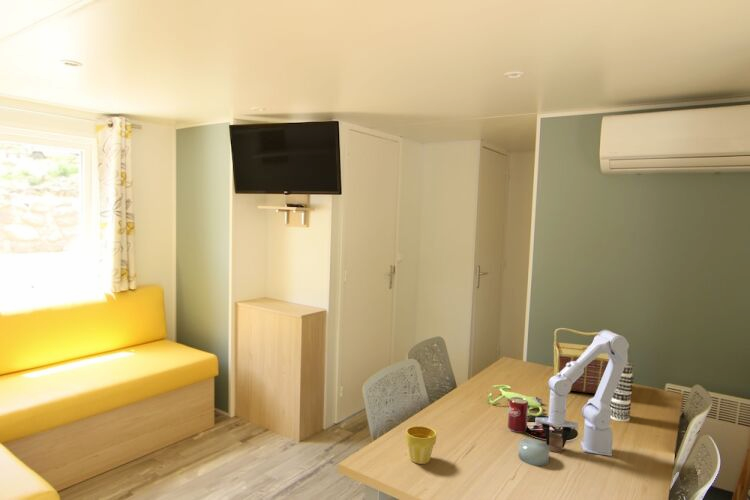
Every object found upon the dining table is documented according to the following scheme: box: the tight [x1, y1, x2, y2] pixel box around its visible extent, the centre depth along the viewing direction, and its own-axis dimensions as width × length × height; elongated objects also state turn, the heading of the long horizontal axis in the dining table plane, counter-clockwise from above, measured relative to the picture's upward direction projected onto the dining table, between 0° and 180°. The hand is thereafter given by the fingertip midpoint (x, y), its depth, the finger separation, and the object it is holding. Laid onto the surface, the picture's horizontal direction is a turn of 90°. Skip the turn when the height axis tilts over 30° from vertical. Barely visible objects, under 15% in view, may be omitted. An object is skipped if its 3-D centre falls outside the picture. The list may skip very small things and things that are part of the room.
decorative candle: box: [610, 360, 634, 422], centre depth 206 cm, size 9×9×25 cm
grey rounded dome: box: [518, 438, 550, 467], centre depth 168 cm, size 10×10×5 cm
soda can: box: [507, 397, 529, 434], centre depth 191 cm, size 7×7×12 cm
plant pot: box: [405, 425, 437, 465], centre depth 164 cm, size 10×10×10 cm
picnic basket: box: [553, 327, 610, 395], centre depth 242 cm, size 29×26×30 cm
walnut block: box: [549, 432, 563, 454], centre depth 175 cm, size 4×4×5 cm
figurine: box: [486, 384, 544, 417], centre depth 218 cm, size 18×27×6 cm
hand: (555, 445), depth 175 cm, fingers closed on walnut block, 4 cm apart
